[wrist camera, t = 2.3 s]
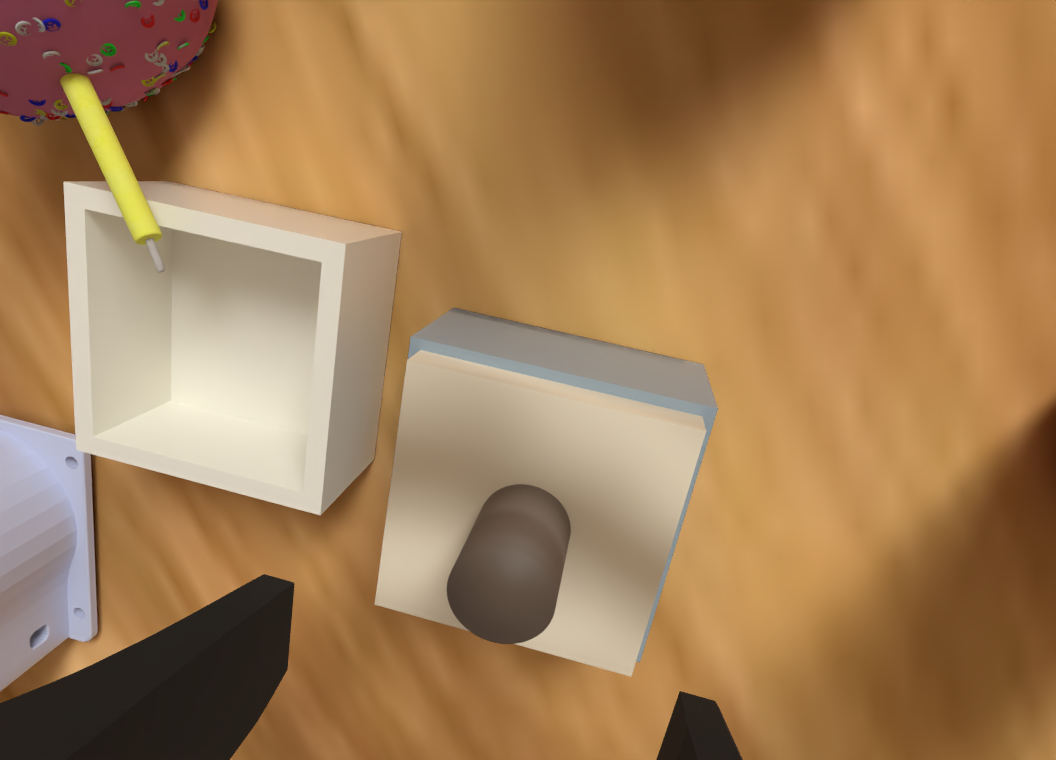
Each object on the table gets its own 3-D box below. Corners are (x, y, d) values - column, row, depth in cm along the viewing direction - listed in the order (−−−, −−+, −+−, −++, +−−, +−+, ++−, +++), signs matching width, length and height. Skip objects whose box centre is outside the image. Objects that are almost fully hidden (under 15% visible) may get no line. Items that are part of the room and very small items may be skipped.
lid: (631, 651, 18) (628, 773, 15) (387, 583, 19) (325, 682, 15) (702, 416, 16) (720, 490, 12) (420, 350, 17) (355, 399, 13)
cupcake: (109, -1, 22) (278, 289, 21) (-267, -59, 16) (-52, 354, 15) (173, -278, 17) (407, 97, 15) (-369, -544, 10) (-35, 65, 9)
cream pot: (374, 459, 23) (320, 515, 19) (167, 406, 23) (76, 449, 20) (402, 231, 20) (345, 244, 16) (168, 181, 21) (63, 181, 17)
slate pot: (640, 580, 22) (639, 662, 18) (420, 522, 23) (377, 589, 19) (703, 364, 20) (718, 408, 16) (453, 307, 20) (410, 336, 17)
